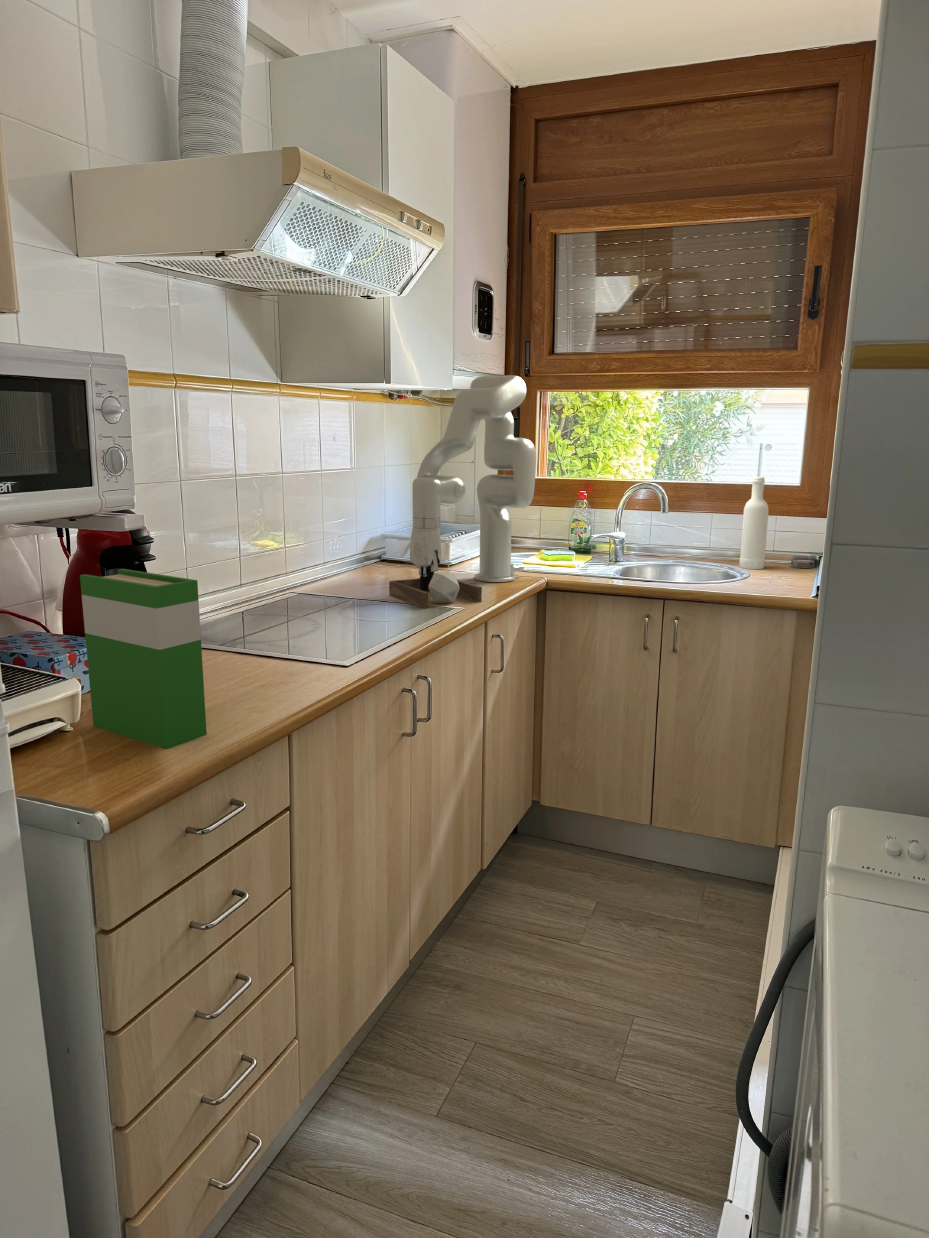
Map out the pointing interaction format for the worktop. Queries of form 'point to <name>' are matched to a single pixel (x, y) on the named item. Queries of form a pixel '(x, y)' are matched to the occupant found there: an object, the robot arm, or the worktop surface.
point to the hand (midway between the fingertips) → (426, 590)
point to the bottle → (754, 528)
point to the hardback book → (145, 656)
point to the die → (444, 587)
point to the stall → (413, 594)
